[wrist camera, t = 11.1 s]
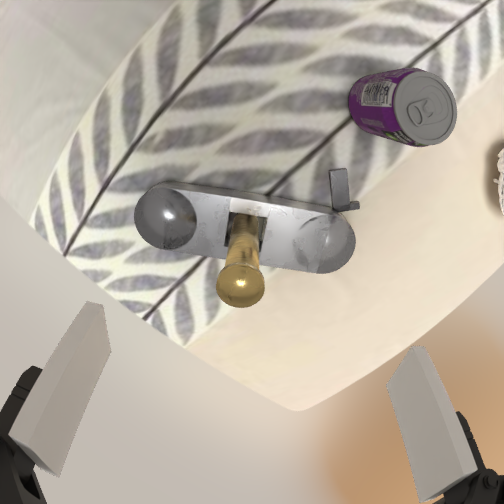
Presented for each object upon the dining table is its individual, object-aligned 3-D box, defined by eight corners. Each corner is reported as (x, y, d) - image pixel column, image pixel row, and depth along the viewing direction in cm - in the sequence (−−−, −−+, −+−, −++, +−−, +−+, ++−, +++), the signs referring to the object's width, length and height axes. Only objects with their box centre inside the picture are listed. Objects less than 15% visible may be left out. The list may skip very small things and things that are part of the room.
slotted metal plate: (144, 177, 34) (135, 184, 32) (355, 212, 36) (363, 221, 33) (141, 234, 38) (133, 244, 35) (339, 265, 39) (344, 277, 37)
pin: (232, 205, 36) (219, 263, 23) (264, 210, 36) (268, 271, 24) (227, 235, 38) (213, 303, 25) (258, 240, 38) (259, 310, 25)
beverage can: (366, 145, 32) (414, 165, 22) (334, 92, 30) (373, 86, 19) (412, 118, 30) (471, 129, 20) (383, 65, 28) (437, 54, 17)
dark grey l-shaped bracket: (328, 170, 34) (330, 171, 33) (355, 167, 34) (356, 168, 33) (333, 211, 36) (334, 212, 35) (358, 207, 36) (359, 209, 35)
